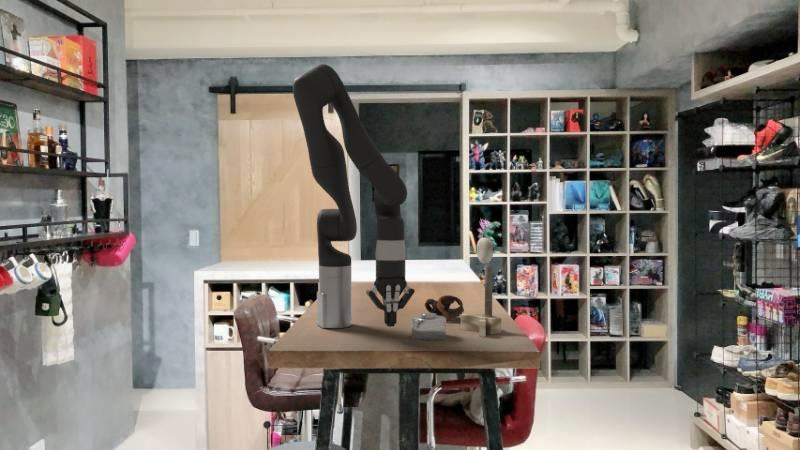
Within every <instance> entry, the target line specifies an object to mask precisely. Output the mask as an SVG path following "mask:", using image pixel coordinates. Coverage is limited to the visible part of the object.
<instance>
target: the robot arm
mask: <svg viewBox="0 0 800 450" xmlns="http://www.w3.org/2000/svg"><path fill="white" fill-rule="evenodd" d="M292 95H293V99H294V102H295V105H296V109H297V112H298V115H299V119H300V121H301V125H302V129H303V133H304V137H305V141H306V147H307V152H308V157H309V158H308V159H309V164H310V169H311V173H312V177H313V179H314V180H315V182H316V183H317V184H318V185H319V187H321V189H322V190H323V191H324V192H325V193H327V194H328V195H329V197H330V198H331V200H333V202H334V203H335V204H336V206H337V208H323V209H320V210H319V211H318V213H317V217H316V233H317V235H316V236H317V250H318V251H317V255H318V291H316V323H317V324H316V325H317V326H319V327H320V328H322V329H342V328H349V327H350V326H351V327H352V325H353V323H352V321H353V319H352V318H353V317H352V315H353V314H352V311H353V310H352V309H353V308H352V307H353V306H352V256H351V255H350V254H348V253H346V252H343V251H340V250H338V249H337V248H336V247H334V245H332V242H349V241H350V242H351V241H352V240H354V239H355V238H356V236H357V233H358V232H357V231H358V227H357V225H358V224H357V218H356V212H355V209H354V205H353V201H352V196H351V192H350V186H349V179H348V169H347V162H346V161H347V160H346V155H345V152H346V154H347V155H348V157H349V159H350V160H351V161H352V163H353V164H354V166H355V167H356V169H357V170H358V172H359V173H360V175H361V176H362V177H364V179H366V180H368V181H369V182H370V184H371V185H372V187H373V188H374V189H375V190H374V192H373V193H374V194H373V195H374V196H373V201H374V209H375V216H376V245H375V255H374V257H375V280H374V283H373V286H372V287H371V288H369V289H366V291H365V294H366V295H367V297H368V298H369V299H370V300H371V301H372V303H373V304H374V305H375V306H376V308H377V309H378V310H381V311H383V312H384V313H383V317H384V319H383V322H384V324H385V325H386V327H390V328H391V327H395V325H396V324H397V322H398V321H397V317H398V316H397V314H398V310H402V309H404V307H406V305H407V304H408V303H409V301H410V299H411V298H412V297H413V295H414V293H415V292H416V291H415V289H414V288H411V286H409V285H408V282H407V280H406V243H405V222H404V218H402V214H401V213H402V212H401V206H402V205H403V204H404V203H405V201H406V200H407V197H408V189H407V187H406V184H405V183H404V181H403V179H402V178H401V177H400V176H399V174H398V173H397V172H396V171H395V170H394V169H393V167H392V166H390V165H389V163H387V161H386V159H385V158H384V156H383V154H382V153H381V152H380V150H379V149H378V147H377V146H376V144H375V142H373V140H372V139H371V137H370V135H369V134H368V132H367V130H366V128H365V126H364V125H363V123H362V120H361V118H360V116H359V113H358V112H357V110H356V107H355V105H354V103H353V101H352V99H351V97H350V95H349V93H348V91H347V89H346V87H345V85H344V82H343V80H342V78H341V77H340V75H339V74H338V73H337V71H336V70H335V69H334V68H333V67H332V66H330V65H329V64H323V63H321V64H318V65H315V67H312V68H310V69H309V70H307V71H305V72H303V73H302V74H301V75H299V76H297V77H296V78H295V79H294V80H293V83H292ZM329 104H330V105H331V106H332V108H333V109H334V110H335V113H336V114H337V117H338V119H339V123H340V126H341V127H340V128H341V131H342V132H341V133H342V138H343V144H344V148H345V151H344V148H343V145H342V144H341V142H340V141H339V140H338V139H337V138H336V137H335V136H334V135H333V134H332V133H331V132H330V131H329V130H328V129H327V126H326V122H325V119H324V112H323V111H324V107H327V105H329ZM378 294H379V295H380V296H381V300H382V301H381V300H380V299H379V297H378ZM400 296H401V297H400Z"/></svg>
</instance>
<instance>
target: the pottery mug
mask: <svg viewBox="0 0 800 450" xmlns="http://www.w3.org/2000/svg"><path fill="white" fill-rule="evenodd" d="M455 302H456V303H457V305H458V307H455V308H450V307H451V305H452V304H454V303H455ZM463 305H464V304H463V301H462V300H461V299H460V298H459V297H457V296H454V295H451V294H449V295H448V294H445V295H441V296H440V297H439V298H438V300H435V299H434V298H428V299H427V300H425V303H424V306H425V309H426V310H427V313H435V314H436V315H437V316H443V317H445V318H446V322H447V321H448V320H451V319H454V318H457V317H461V315H462V314H464V312H465V309H464V306H463Z"/></svg>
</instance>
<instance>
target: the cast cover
mask: <svg viewBox="0 0 800 450" xmlns="http://www.w3.org/2000/svg"><path fill="white" fill-rule="evenodd" d="M410 319H411V322H410V323H411V324H410V325H411V326H410V327H411V329H410V330H411V331H410V332H411V336H412V337H411V339H415V340H419V341H439V340H444V339H446V338H447V321H446V318H445V317H443V316H437V315H436V313H430V312H425V313H423V312H422V313H421V314H420V315H414V316H412V317H411V318H410Z"/></svg>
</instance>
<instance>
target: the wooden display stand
mask: <svg viewBox="0 0 800 450" xmlns="http://www.w3.org/2000/svg"><path fill="white" fill-rule="evenodd" d="M476 255H477V260H479V262H480V263H481V264H484V313H476V314H468V313H467V314H466V313H462V314H460V330H463V331H464V330H465V331H473V332H477V333H478V332H479V333H478V335H479V337H486V336H487V335H486V333H487V334H490V335H495V334H496V335H498V334H499V335H500V334H502V317H498V316H495V315H493V258H494V257H493V256H494V247H493V243H492V240H491V239H490V238H488V237H481V238H479V240H478V241H477V244H476Z"/></svg>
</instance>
